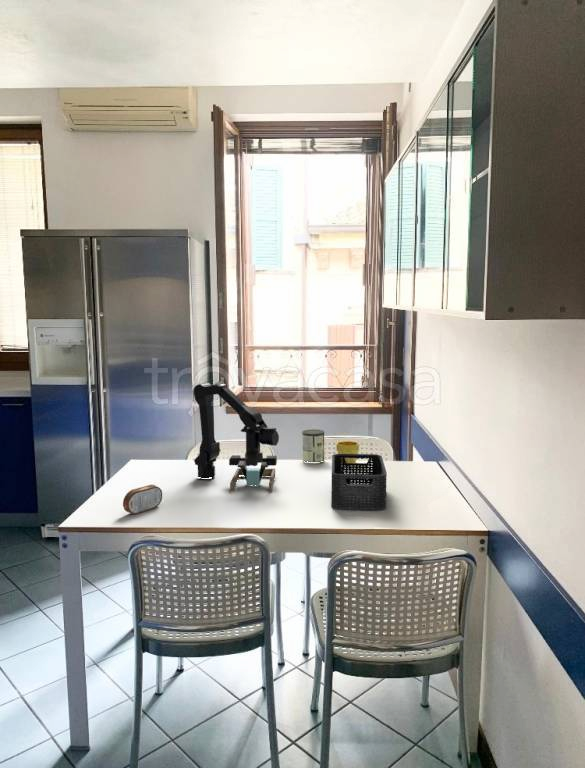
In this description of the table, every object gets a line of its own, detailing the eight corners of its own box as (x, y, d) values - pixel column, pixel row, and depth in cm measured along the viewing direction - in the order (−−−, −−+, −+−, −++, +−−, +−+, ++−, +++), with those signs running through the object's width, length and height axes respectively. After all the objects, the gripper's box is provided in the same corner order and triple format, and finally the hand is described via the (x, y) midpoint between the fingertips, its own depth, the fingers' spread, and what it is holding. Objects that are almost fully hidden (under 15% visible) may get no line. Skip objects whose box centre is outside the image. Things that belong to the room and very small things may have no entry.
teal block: (246, 486, 226) (246, 471, 225) (248, 482, 231) (247, 468, 230) (259, 486, 226) (259, 471, 225) (260, 482, 231) (260, 468, 230)
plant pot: (331, 464, 258) (331, 443, 257) (344, 460, 266) (344, 439, 265) (350, 468, 251) (350, 446, 250) (363, 463, 259) (363, 442, 258)
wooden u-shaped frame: (230, 491, 219) (230, 482, 218) (237, 476, 240) (237, 468, 239) (271, 492, 218) (271, 483, 218) (275, 476, 239) (275, 468, 239)
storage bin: (387, 511, 196) (387, 474, 195) (331, 510, 198) (331, 473, 196) (380, 487, 224) (381, 454, 223) (331, 486, 226) (331, 453, 224)
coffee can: (309, 457, 271) (309, 428, 270) (328, 460, 266) (328, 430, 264) (298, 462, 263) (298, 432, 261) (317, 465, 257) (317, 434, 256)
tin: (158, 504, 205) (158, 481, 204) (164, 506, 203) (163, 483, 202) (122, 515, 193) (121, 491, 192) (128, 517, 191) (127, 493, 190)
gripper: (226, 447, 219) (227, 487, 221) (275, 448, 218) (275, 487, 220) (230, 441, 230) (231, 479, 232) (276, 441, 229) (277, 479, 231)
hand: (253, 481), depth 228 cm, fingers closed on teal block, 5 cm apart
